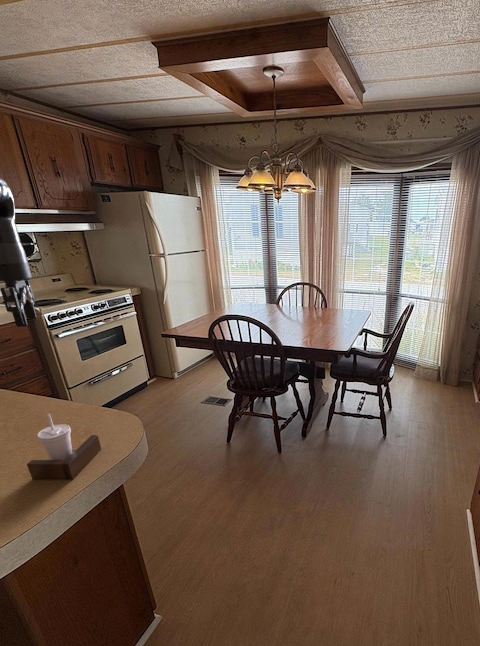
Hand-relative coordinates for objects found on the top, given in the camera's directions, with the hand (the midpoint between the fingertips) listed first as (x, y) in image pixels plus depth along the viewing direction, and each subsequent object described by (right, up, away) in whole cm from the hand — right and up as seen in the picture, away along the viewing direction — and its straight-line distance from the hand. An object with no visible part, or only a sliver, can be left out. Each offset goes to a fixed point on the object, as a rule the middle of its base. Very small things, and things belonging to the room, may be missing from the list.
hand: (27, 322), depth 93 cm
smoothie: (+17, -37, -9) cm, 41 cm away
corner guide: (+17, -37, -9) cm, 41 cm away
